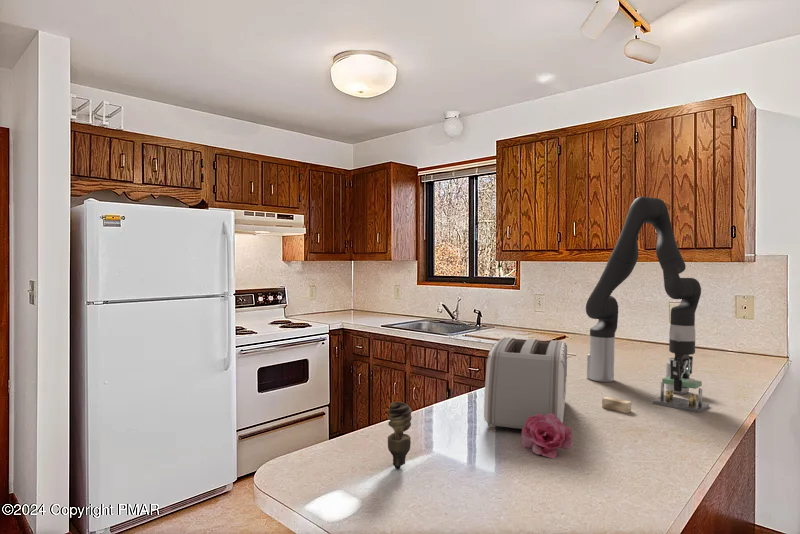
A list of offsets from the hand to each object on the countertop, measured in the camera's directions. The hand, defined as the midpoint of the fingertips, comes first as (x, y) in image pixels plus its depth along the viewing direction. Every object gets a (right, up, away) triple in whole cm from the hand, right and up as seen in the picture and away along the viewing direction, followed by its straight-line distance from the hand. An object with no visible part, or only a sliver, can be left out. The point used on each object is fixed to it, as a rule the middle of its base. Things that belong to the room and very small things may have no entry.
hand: (681, 389), depth 172 cm
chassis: (0, -5, 0) cm, 5 cm away
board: (0, +2, 0) cm, 2 cm away
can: (+8, -5, +18) cm, 20 cm away
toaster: (-53, -5, -10) cm, 54 cm away
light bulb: (-93, -5, -53) cm, 107 cm away
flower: (-56, -6, -42) cm, 71 cm away
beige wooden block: (-24, -5, -6) cm, 25 cm away
